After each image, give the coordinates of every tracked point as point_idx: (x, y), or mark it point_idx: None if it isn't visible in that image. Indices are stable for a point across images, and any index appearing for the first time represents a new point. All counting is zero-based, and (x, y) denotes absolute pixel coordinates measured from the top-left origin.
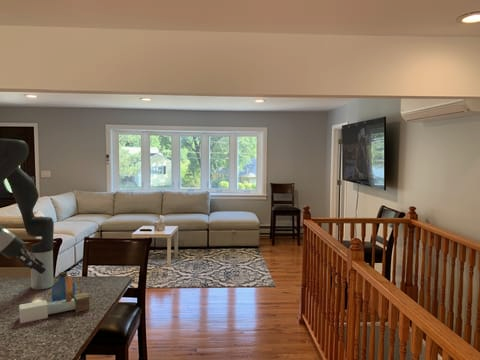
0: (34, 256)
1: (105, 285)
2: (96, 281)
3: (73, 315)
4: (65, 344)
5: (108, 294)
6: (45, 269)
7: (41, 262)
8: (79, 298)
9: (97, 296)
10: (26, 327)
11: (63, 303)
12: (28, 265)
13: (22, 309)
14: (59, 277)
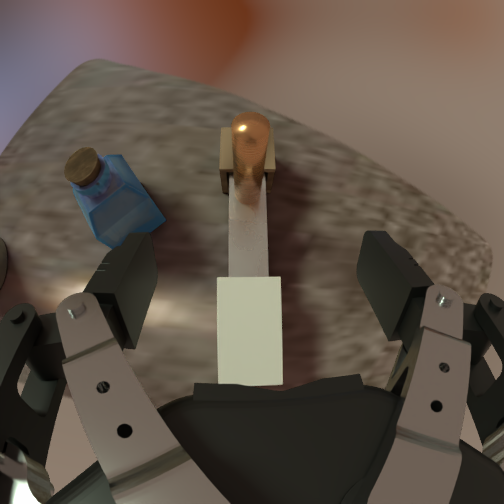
0: (80, 310)
1: (95, 101)
2: (49, 122)
3: (297, 204)
4: (461, 254)
5: (172, 96)
6: (382, 231)
7: (141, 244)
8: (274, 157)
9: (166, 121)
10: (322, 353)
11: (266, 216)
12: (492, 376)
13: (282, 374)
14: (93, 188)
